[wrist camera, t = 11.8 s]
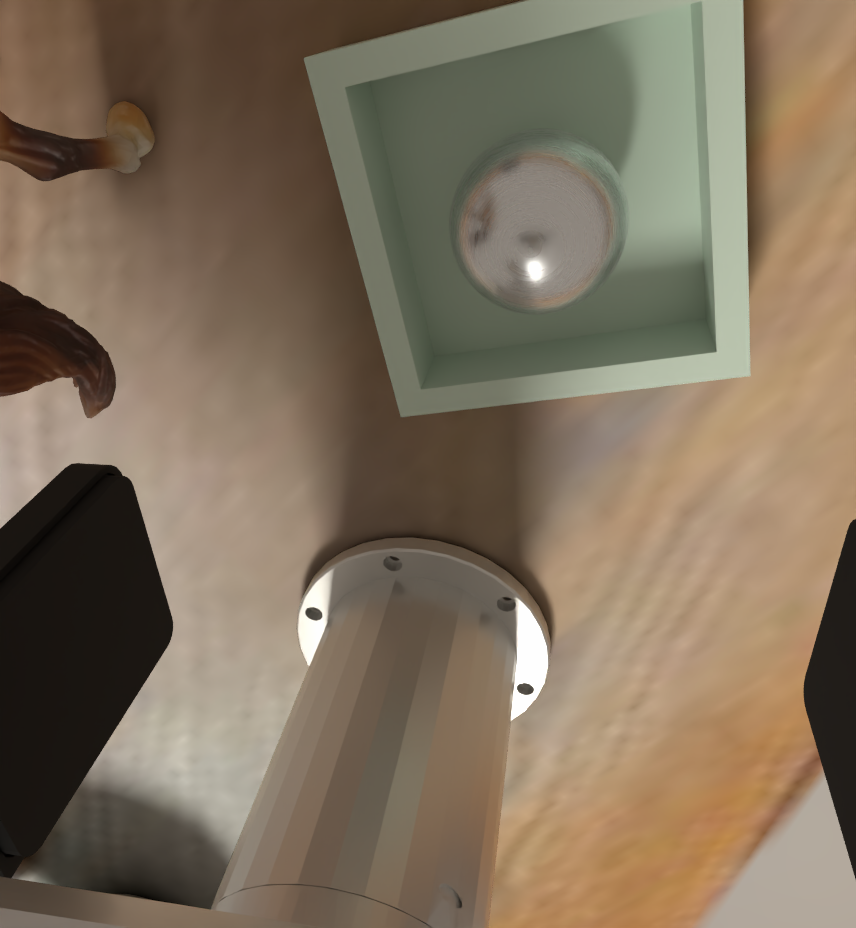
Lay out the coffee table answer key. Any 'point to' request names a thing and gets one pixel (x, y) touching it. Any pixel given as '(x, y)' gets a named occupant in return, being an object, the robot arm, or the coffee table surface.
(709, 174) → the tray
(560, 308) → the steel ball
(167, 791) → the coffee table surface
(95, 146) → the horse figurine
